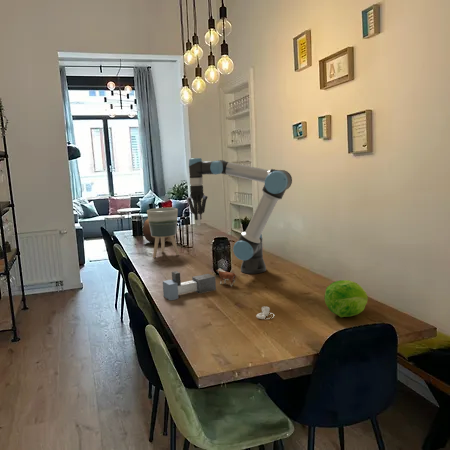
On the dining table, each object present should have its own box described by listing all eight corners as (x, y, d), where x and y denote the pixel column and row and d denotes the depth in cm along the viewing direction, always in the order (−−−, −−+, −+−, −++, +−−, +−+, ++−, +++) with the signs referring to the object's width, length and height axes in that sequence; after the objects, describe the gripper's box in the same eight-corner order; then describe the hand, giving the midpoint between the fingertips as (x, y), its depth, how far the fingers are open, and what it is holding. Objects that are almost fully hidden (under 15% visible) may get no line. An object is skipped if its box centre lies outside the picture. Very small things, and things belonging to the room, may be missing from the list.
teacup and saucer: (260, 321, 185) (259, 312, 185) (251, 315, 193) (251, 306, 192) (278, 318, 189) (278, 308, 188) (269, 312, 196) (268, 303, 195)
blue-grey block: (171, 294, 225) (170, 279, 224) (178, 298, 218) (177, 283, 217) (163, 296, 223) (162, 281, 222) (170, 300, 216) (169, 284, 215)
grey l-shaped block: (196, 287, 230) (195, 267, 229) (201, 289, 227) (199, 269, 225) (167, 294, 222) (165, 273, 220) (170, 296, 218) (169, 274, 216)
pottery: (144, 241, 372) (142, 211, 368) (172, 239, 375) (170, 210, 371) (142, 246, 350) (140, 215, 346) (171, 244, 352) (169, 213, 348)
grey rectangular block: (209, 286, 236) (208, 273, 235) (216, 290, 230) (215, 276, 229) (192, 290, 231) (192, 276, 230) (199, 293, 225) (198, 279, 224)
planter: (185, 255, 314) (183, 209, 308) (158, 260, 302) (154, 212, 296) (171, 250, 331) (168, 206, 326) (145, 255, 319) (141, 209, 314)
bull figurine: (220, 281, 246) (219, 266, 244) (237, 285, 236) (237, 270, 235) (214, 282, 243) (213, 268, 241) (231, 287, 233) (231, 272, 232)
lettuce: (376, 321, 185) (383, 287, 182) (338, 326, 177) (344, 290, 174) (350, 305, 200) (356, 274, 197) (314, 309, 192) (319, 276, 188)
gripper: (203, 184, 261) (205, 223, 264) (183, 185, 254) (185, 225, 258) (209, 184, 254) (211, 224, 258) (189, 186, 248) (191, 227, 251)
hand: (198, 225), depth 258 cm, fingers closed
